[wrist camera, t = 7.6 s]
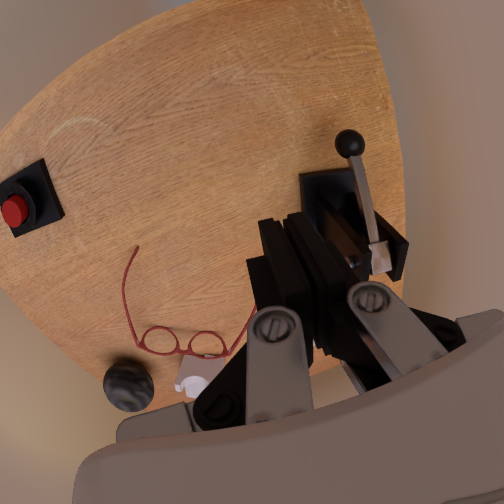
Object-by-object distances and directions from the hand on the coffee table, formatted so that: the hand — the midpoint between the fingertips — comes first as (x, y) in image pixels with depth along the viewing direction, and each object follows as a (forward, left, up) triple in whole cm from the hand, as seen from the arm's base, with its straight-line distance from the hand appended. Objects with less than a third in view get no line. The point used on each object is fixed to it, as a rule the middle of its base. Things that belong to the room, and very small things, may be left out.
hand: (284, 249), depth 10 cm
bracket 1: (+40, -14, -20) cm, 47 cm away
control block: (-1, -27, -20) cm, 34 cm away
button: (-1, -28, -17) cm, 33 cm away
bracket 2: (+10, +10, -20) cm, 25 cm away
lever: (+6, +11, -13) cm, 18 cm away
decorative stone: (+35, -27, -20) cm, 49 cm away
